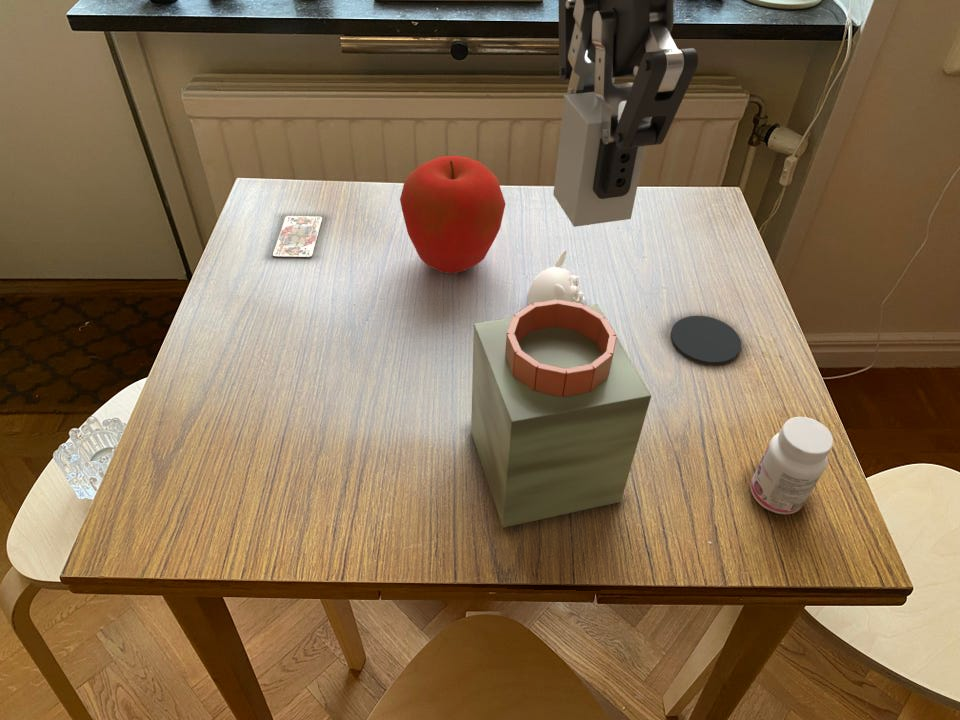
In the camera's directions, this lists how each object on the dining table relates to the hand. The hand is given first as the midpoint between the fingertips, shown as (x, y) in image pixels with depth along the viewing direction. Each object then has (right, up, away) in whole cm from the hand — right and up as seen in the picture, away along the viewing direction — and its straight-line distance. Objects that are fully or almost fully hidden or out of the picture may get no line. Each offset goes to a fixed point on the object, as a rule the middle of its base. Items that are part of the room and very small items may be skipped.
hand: (596, 174), depth 45 cm
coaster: (+18, -10, +33) cm, 39 cm away
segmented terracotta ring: (-1, -12, +10) cm, 16 cm away
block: (0, -2, +2) cm, 2 cm away
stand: (-2, -22, +20) cm, 30 cm away
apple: (-11, 0, +42) cm, 43 cm away
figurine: (+1, -7, +36) cm, 36 cm away
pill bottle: (+19, -24, +19) cm, 36 cm away
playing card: (-31, +4, +45) cm, 55 cm away
